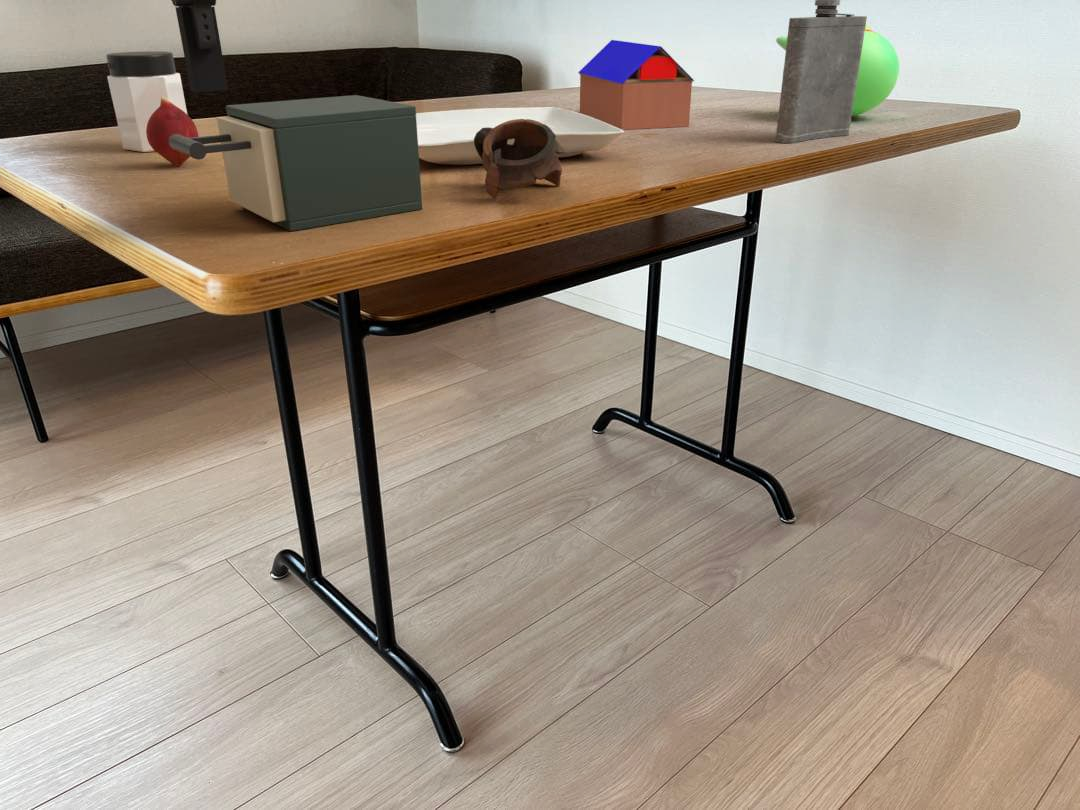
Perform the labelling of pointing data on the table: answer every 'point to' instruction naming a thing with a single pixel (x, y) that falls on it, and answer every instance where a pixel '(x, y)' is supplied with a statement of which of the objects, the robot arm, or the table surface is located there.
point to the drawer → (243, 163)
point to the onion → (169, 130)
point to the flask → (820, 74)
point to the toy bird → (871, 71)
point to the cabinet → (341, 157)
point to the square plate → (455, 130)
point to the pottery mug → (518, 155)
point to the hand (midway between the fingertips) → (209, 90)
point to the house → (635, 87)
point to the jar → (141, 92)
